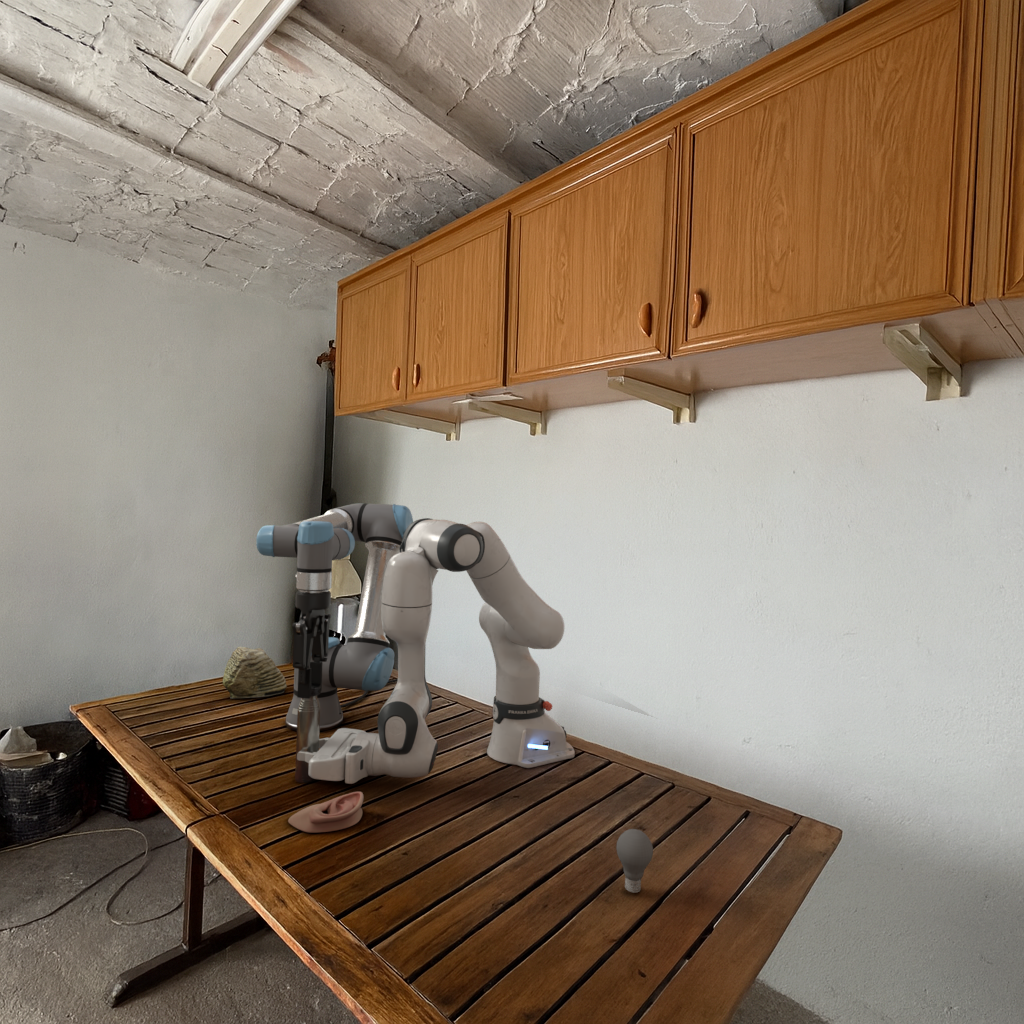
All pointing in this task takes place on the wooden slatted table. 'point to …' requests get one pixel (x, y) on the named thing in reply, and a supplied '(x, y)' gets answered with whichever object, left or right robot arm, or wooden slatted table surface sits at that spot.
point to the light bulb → (634, 857)
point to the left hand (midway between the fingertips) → (309, 693)
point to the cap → (315, 689)
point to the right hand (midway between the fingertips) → (303, 749)
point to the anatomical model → (329, 814)
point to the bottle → (307, 735)
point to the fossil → (252, 674)
